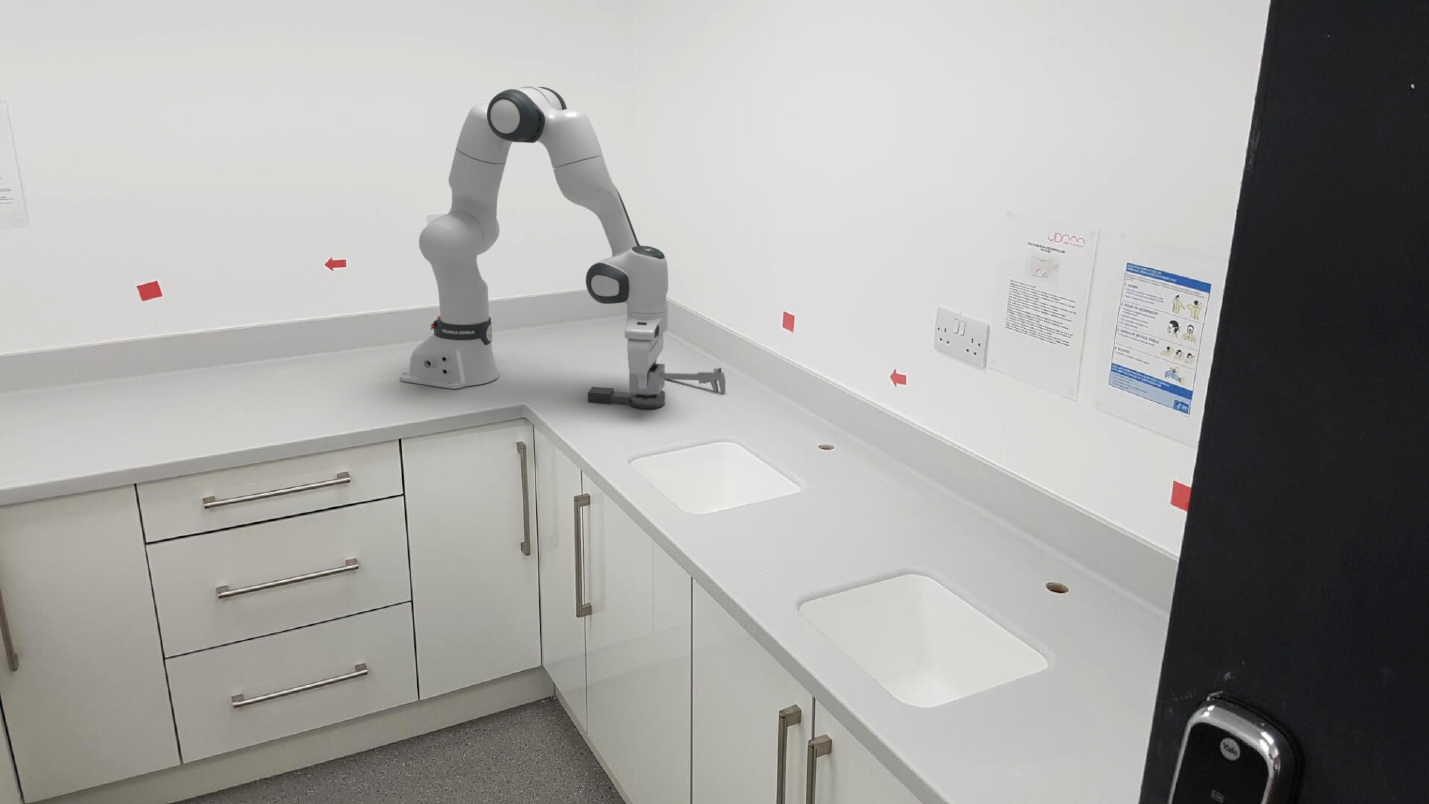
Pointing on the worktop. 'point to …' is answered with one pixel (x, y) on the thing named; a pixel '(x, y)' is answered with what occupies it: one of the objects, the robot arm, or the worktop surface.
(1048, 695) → the worktop surface
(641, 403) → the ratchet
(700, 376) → the caliper
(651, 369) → the grey metal block
